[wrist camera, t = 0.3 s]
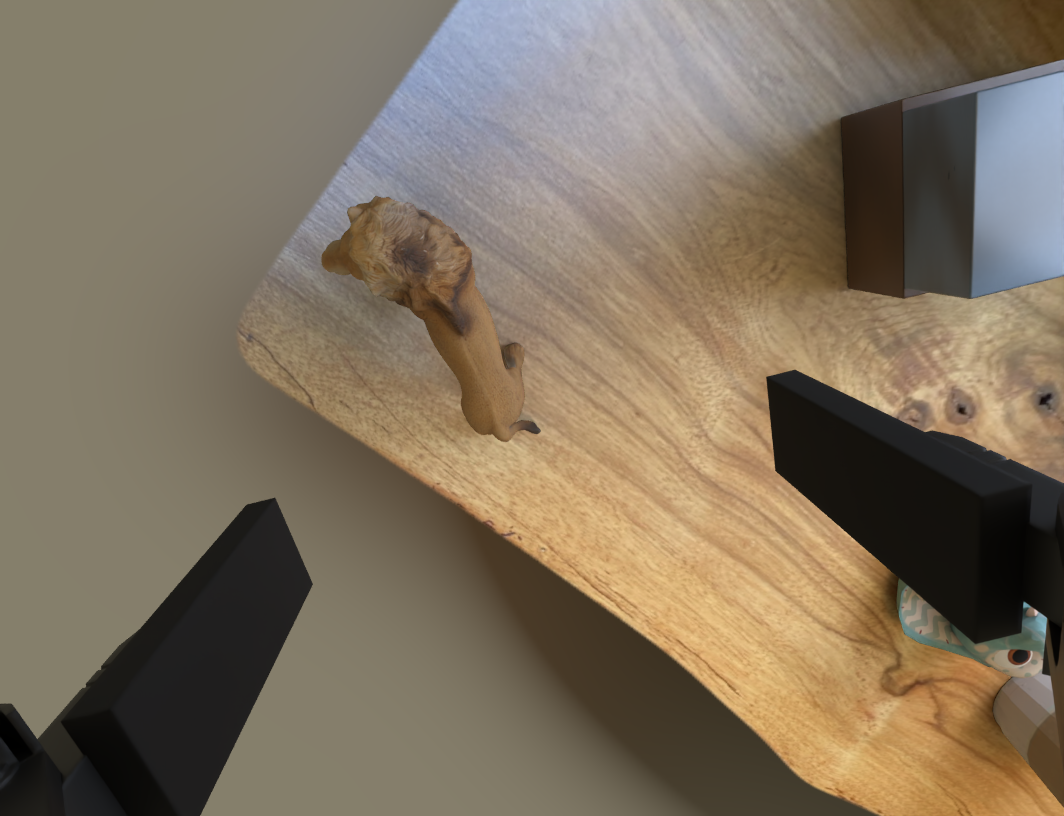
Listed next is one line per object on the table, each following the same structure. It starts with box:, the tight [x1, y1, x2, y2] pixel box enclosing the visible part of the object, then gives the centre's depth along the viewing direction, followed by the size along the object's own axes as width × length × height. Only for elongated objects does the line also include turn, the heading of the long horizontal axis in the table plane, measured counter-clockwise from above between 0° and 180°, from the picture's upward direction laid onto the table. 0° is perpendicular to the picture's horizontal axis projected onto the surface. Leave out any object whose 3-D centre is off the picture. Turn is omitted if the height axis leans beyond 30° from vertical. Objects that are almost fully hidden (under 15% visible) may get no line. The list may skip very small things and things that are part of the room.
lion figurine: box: [321, 196, 541, 442], centre depth 27 cm, size 15×5×9 cm, turn 33°
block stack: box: [841, 59, 1064, 299], centre depth 26 cm, size 9×11×8 cm
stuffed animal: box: [896, 579, 1047, 678], centre depth 36 cm, size 11×7×12 cm
